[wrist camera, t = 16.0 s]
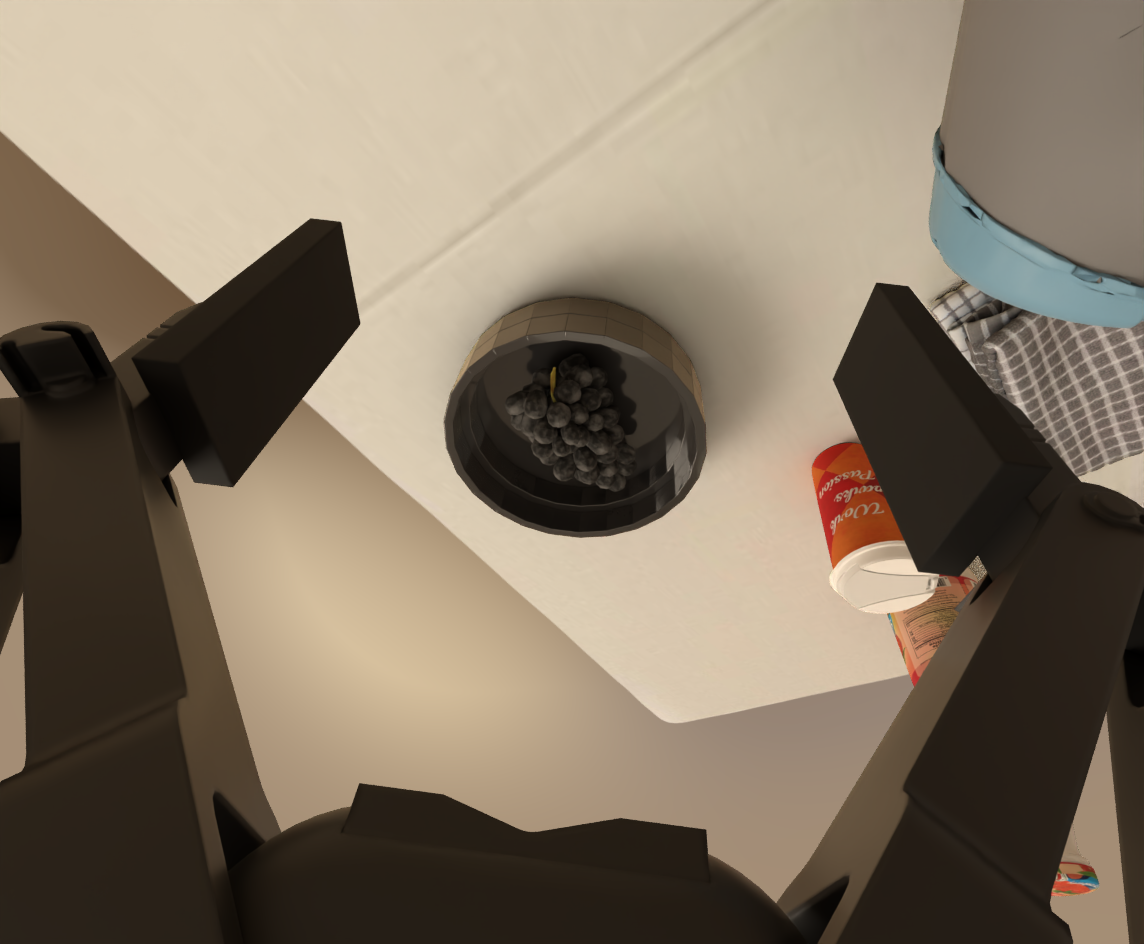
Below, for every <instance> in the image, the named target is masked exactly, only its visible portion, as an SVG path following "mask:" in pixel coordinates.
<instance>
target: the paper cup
mask: <svg viewBox="0 0 1144 944" xmlns="http://www.w3.org/2000/svg"><path fill="white" fill-rule="evenodd" d="M812 475H813V481H814V486H815V491H816V496H817V500H818V505H819V509H820V514H821V518H822V523H823V527H824V532H825V536H826V541H827V545H828V549H829V554H830V558H831V563H832V567H833V571H832V572H831V573H830V578H829V579H830V585H831V587H832V588H833V589H834V590H835V591H836V592H838V593H839V594H840V595H841V596H842V598H845V599H846V601H847V602H848V603H849V604H850V605H852V606H853V607H855V608H856V609H858V610H861V611H864V612H869V613H893V612H899V611H903V610H907V609H910V608H913V607H915V606H917V605H919V604H921V603H923V602H925V601H926V600H928V599H929V598H930V597H931V596H932V595H933V594H934V593H935V588H937V583H938V579H939V574H931V573H923V572H918V571H917V568H916V566H915V564H914V562H913V559H912V557H911V555H910V552H909V550H908V548H907V546H906V543H905V541H904V539H903V537H902V534H901V532H900V530H899V528H898V525H897V523H896V521H895V519H894V516H893V514H892V512H891V510H890V507H889V505H888V503H887V501H886V498H885V496H884V494H883V491H882V489H881V487H880V485H879V482H878V480H877V478H876V476H875V473H874V471H873V469H872V467H871V464H870V462H869V460H868V458H867V455H866V453H865V451H864V449H863V446H862V445H861V444H857V443H843V444H838V445H835V446H832V447H830V448H828V449H826V450H825V451H823V452H822V453H821V454H820V455H819V456H818V457H817V458H816V459H815V461H814V463H813V466H812Z"/></svg>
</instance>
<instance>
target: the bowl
mask: <svg viewBox="0 0 1144 944" xmlns="http://www.w3.org/2000/svg"><path fill="white" fill-rule="evenodd" d="M579 353H580V354H582V355H584V356H585V357H586V359H587V360H588V361H589V367H590V368H592V367H600V368H603V369H604V370H605V372H606V373H607V379H608V381H607V383H606V385H605V386H603V387H604V388H609V389H610V390H611V391H612V393H613V397H614V399H613V403H612V404H613V405H615V406H617V407H618V408H619V410H620V413H621V414H620V417H619V419H618V422H617V425H619V426H621V427H622V429H623V431H624V444H627V445H629V446H632V447H633V448H634V449H635V451H636V452H635V459H634V460H635V462H636V464H637V465H636V470H635V472H634V473H632V474H631V475H629V476H625V479H626V484H625V487H624V488H623V489H621V490H620V491H616V492H614V491H612V490H610V489H604V488H600V487H599V486H598V485H597V484H596V482H594V483H592V484H590V485H589V484H586V483H583V482H581V481H579V480H577V479H576V478H575V477H573V478H572V479H570V480H568V481H566V482H565V481H560V480H559V479H557V478H556V477H555V475H554V473H553V468H554V465H555V464H554V465H550V466H548V465H546V464H543V463H542V462H541V460H540V459H539V458H538V457H536V456H535V455H534V454H533V451H532V448H531V445H532V442H531V441H530V440H529V438H528V436H526V435H525V434H524V433H523V432H521V430H517V429H515V428H514V427H513V425H512V424H511V416H512V415H510V414H509V413H508V412H507V411H506V408H505V405H504V404H505V402H506V400H507V398H508V397H509V396H510V395H512V394H514V393H516V392H518V391H521V390H522V388H523V386H526V385H528V384H531V383H532V378H533V373H534V372H535V371H537V370H538V369H541V368H547V369H549V370H551V371H552V370H553V367H556V373H557V371H559V365H560V363H561V362H562V360H564V359H566V358H568V357H570V356H572V355H573V354H579ZM555 387H557V385H555ZM550 391H551V389H549V390H547V394H549V392H550ZM593 412H594V411H593ZM444 431H445V441H446V449H447V451H448V453H449V456H450V458H451V460H452V463H453V465H454V468H455V470H456V472H457V474H458V475H459V476H460V478H461V479H462V480H463V481H464V483H465V484H466V485H467V486H468V488H469V489H470V490H471V492H472V493H473V494H474V495H475V496H477V497H478V498H479V499H480V500H481V501H483V502H484V503H485V504H486V505H488V506H489V507H490V508H491V509H493V510H494V511H495V512H497V513H499V514H501V515H503V516H505V517H506V518H508V519H510V520H512V521H514V522H516V523H518V524H520V525H522V526H525V527H528V528H531V529H535V530H538V531H541V532H544V533H548V534H554V535H562V536H570V537H579V538H583V537H602V536H611V535H615V534H619V533H623V532H628V531H632V530H636V529H638V528H640V527H642V526H645V525H647V524H649V523H651V522H653V521H655V520H657V519H659V518H661V517H663V516H664V515H665V514H666V513H668V512H669V511H670V510H671V509H673V508H674V507H675V506H676V505H678V504H679V503H680V502H681V501H682V500H684V498H685V497H686V495H687V494H688V493H689V491H690V490H691V488H692V487H693V485H694V484H695V483H696V481H697V480H698V478H699V476H700V472H701V469H702V466H703V463H704V459H705V456H706V453H707V447H706V424H705V416H704V409H703V401H702V393H701V386H700V383H699V381H698V378H697V376H696V373H695V370H694V368H693V365H692V363H691V360H690V359H689V357H688V356H687V355H686V354H685V352H684V351H683V350H682V348H681V347H680V346H679V345H678V343H677V342H676V341H675V340H674V338H673V337H672V336H671V335H670V334H669V333H668V332H666V331H665V330H664V329H662V328H661V327H659V326H658V325H657V324H655V323H654V322H652V321H651V320H650V319H648V318H647V317H645V316H644V315H642V314H640V313H637V312H635V311H632V310H629V309H627V308H624V307H622V306H619V305H616V304H614V303H611V302H607V301H598V300H590V299H581V298H572V297H571V298H564V299H557V300H549V301H542V302H537V303H534V304H531V305H529V306H527V307H524V308H522V309H520V310H517V311H515V312H512V313H510V314H508V315H506V316H504V317H503V318H502V319H500V320H499V321H498V322H497V323H496V324H494V325H493V326H492V327H491V328H489V329H488V330H487V331H486V332H485V333H483V334H482V335H481V336H480V338H479V339H478V341H477V342H476V344H475V346H474V347H473V349H472V350H471V352H470V353H469V355H468V356H467V358H466V360H465V362H464V364H463V366H462V369H461V371H460V373H459V375H458V378H457V380H456V382H455V384H454V387H453V389H452V391H451V393H450V396H449V400H448V404H447V408H446V412H445V416H444Z"/></svg>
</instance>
